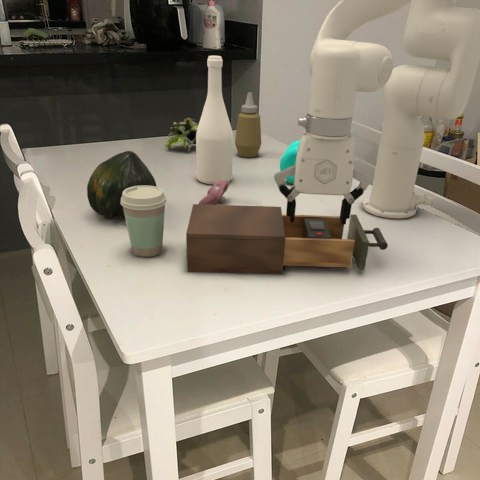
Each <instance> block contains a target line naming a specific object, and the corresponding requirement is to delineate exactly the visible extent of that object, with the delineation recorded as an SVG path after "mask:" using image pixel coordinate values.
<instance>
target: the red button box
mask: <svg viewBox="0 0 480 480" xmlns="http://www.w3.org/2000/svg"><path fill="white" fill-rule="evenodd" d="M302 238H320V239H331V235H330V232H329V229H328V226H327V223H326V220H325V219H304V226H303V236H302Z"/></svg>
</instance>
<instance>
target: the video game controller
mask: <svg viewBox="0 0 480 480" xmlns="http://www.w3.org/2000/svg"><path fill="white" fill-rule="evenodd" d="M230 184H231V183H230V181H229V182H228V181H227V180H223V179H221V180H218V181H216V182H215V183H214V185H212V186H211V187H209V188H208V190H207V191H206V194H207V195H205V196H204V197H203V198H201V199H200V200H199V201H198V204H206V205H219V204H218V203H220V201H224V200H225V196H224V195H225V193H226V192H227V191H228V189H229V187H230Z"/></svg>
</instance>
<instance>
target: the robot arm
mask: <svg viewBox="0 0 480 480" xmlns="http://www.w3.org/2000/svg"><path fill="white" fill-rule="evenodd" d="M456 3H457V0H340V1H339V2H338V3H336V5H334V6H333V7H332V9H331V10H330V11H329V13H328V14H327V15H326V17H325V18H324V20H323V23H322V25H321V27H320V29H319V32H318V34H317V35H316V36H317V37H316V38H315V41H314V44H313V46H312V50H311V53H310V57H309V64H308V65H309V68H308V69H309V74H310V77H311V78H310V88H309V99H308V107H307V108H308V109H307V113H306V114H307V115H305V117H304V116H303V117H298V122H297V123H298V124H297V125H298V127H302V128H304V129H305V131H303V132H301V135H300V138H299V140H300V142H299V147H298V151H297V157H296V163H295V165H293V166H291V167H289V168H287V169H285V170H282V171H281V170H280V171H278V172H276V173H275V174H274V175H273V178H274V181H275V183H276V187H277V188H278V190H279V192H280V193H281V194H282V195H283V197H284V198H285V199H286V210H285V211H286V212H285V215H286V216H289V218H290V222H294V219H295V215H296V207H297V200H296V198H297V197H298V196H299V195H300V194H303V195H320V196H321V195H322V196H343V197H344V198H343V199H341V206H340V212H339V216H340V221H341V223H342V224H343V225H344V226H345V225H347V220H350V216H351V212H352V205H353V204H354V203H355V202H356V201H357V199H359V198H360V197H361V196H363V194H364V192H365V191H366V190H367V189H368V187H369V186H370V184H371V182H372V186H371V191H370V196H369V197H366V198H365V199H364V200H363V201H362V208H363V209H364V211H366V212H367V213H369V214H371V215H373V216H377V217H381V218H385V219H407V218H411V217H413V216H414V215H416V214H417V209H418V208H417V207H418V206H419V205H423V206H432V205H433V202H434V199H433V196H425V194H424V193H415V191H414V190H415V187H416V181H417V177H418V171H419V168H420V167H419V166H420V162H421V158H422V153H423V148H424V143H425V139H426V137H425V136H426V134H425V133H426V132H425V128H424V125H423V122H422V119H421V116H422V117H429V118H434V119H440V120H449V121H451V120H455V119H458V118H459V117H461V115H462V114H463V113H464V111H465V110H466V107H467V105H468V102H469V99H470V96H471V93H472V89H473V85H474V83H475V78H476V75H477V71H478V68H479V65H480V9H478V8H475V7H465V6H464V7H463V6H456ZM408 5H410V7H409V11H408V15H407V20H406V24H405V27H404V28H405V29H404V32H403V33H404V34H403V38H402V39H403V40H402V47H403V50H404V52H405V53H406V54H407V55H409V56H410V57H414V58H419V59H427V60H435V61H436V60H437V61H444V62H450V65H451V66H450V68H447V67H437V66H433V65H432V66H431V65H423V64H422V65H421V64H411V63H408V64H401V65H398V66H395V67H394V59H393V56H392V53H391V51H390V50H389V49H388V48H387V47H386V46H384V45H382V44H379V43H375V42H364V41H359V40H358V41H357V40H347V39H348V37H349V36H350V35H351V34H352V33H353V32H355V31H356V30H357V29H359V28H360V27H362V26H363V25H366V24H367V23H370V22H372V21H375V20H377V19H380V18H382V17H385V16H388V15H391V14H393V13H395V12H397V11H400V10H402V9H404V8H406V7H408ZM382 88H383V116H382V125H381V131H380V138H379V144H378V148H377V149H378V151H377V156H376V162H375V169H374V174H373V180H372V181H371V179H370V177H368V176H367V175H365V174H364V173H362V172H360V171H359V170H357V169H356V168H355V154H356V153H355V152H356V151H355V149H356V148H355V146H356V143H355V135H353V134H352V133H351V129H352V123H353V114H354V109H355V108H354V107H355V100H356V93H357V92H361V93H362V92H363V93H373V92H377V91H379V90H380V89H382ZM292 175H294V184H293V185H292V186H291V187H290V188H289V187H288V186H287V185H286V184H285V182H284V180H286V179H285V178H288V177H290V176H292ZM353 179H355V180H356V181H358V182H359V184H358V185H357V186H356V187H355V188H354V189H353V190H352V186H353Z"/></svg>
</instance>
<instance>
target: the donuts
mask: <svg viewBox="0 0 480 480" xmlns="http://www.w3.org/2000/svg"><path fill="white" fill-rule="evenodd" d="M299 142H300V139H298V140H295V141H292V142H291V143H290V144H289V146H288V147H287V148H286V149H285V151H284V152H283V154H282V156H281V158H280V160H279V161H280V162H279V168H280V171H282V170H285V169H287V168H289V167H291V166H293V165H295V163H296V157H297V151H298V147H299ZM284 180H286V181H287V182H288V183H289V184H293V185H294V175H292V176H290V177H288V178H285V179H284Z"/></svg>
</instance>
